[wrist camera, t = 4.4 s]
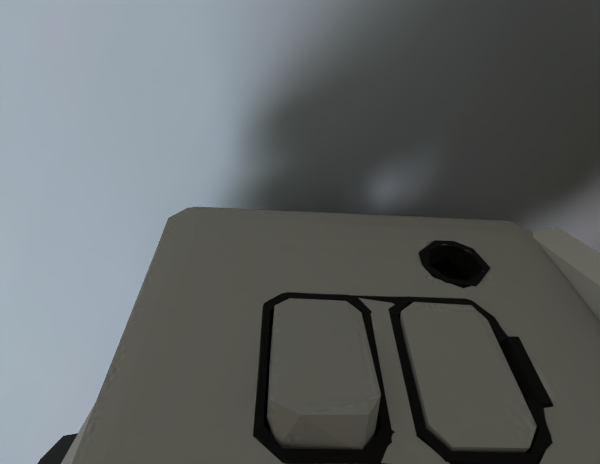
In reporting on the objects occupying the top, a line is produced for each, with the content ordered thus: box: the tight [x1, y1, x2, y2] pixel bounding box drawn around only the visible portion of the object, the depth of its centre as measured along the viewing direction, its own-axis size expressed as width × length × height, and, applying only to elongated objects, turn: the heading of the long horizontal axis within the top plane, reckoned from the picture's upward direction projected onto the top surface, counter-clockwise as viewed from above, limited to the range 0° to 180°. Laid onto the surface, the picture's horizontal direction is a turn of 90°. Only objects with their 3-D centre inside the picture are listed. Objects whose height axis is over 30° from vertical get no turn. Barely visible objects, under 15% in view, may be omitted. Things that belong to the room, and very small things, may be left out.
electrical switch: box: [72, 207, 600, 464], centre depth 8 cm, size 9×5×9 cm, turn 87°
